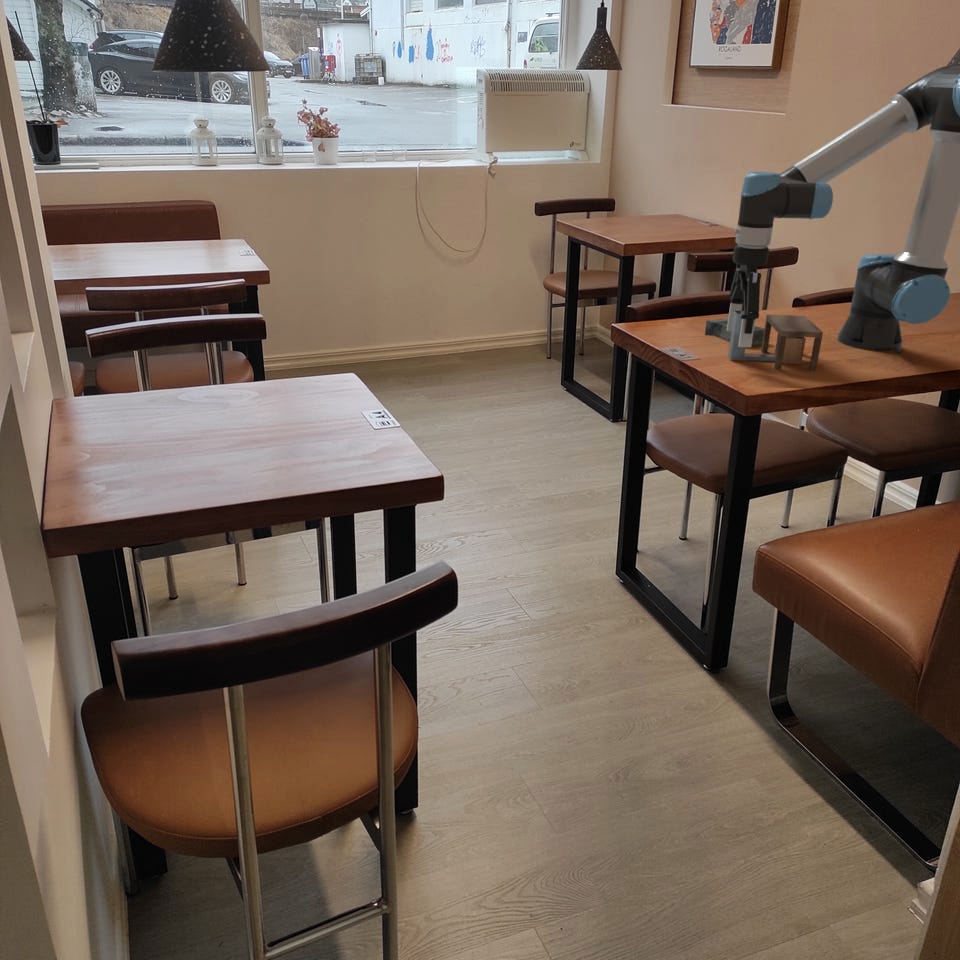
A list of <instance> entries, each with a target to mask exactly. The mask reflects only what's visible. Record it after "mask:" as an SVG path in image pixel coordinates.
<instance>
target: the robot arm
mask: <svg viewBox="0 0 960 960" xmlns="http://www.w3.org/2000/svg"><path fill="white" fill-rule="evenodd" d="M929 125H930V127H929V133H930V135H931V136H932V138H933V143H932V144H933V145H932V148H931V151H930V155H929V157H928V163H927V165H926V169H925V172H924V175H923V180H922V183H921V186H920V190H919V194H918V197H917V200H916V204H915V207H914V211H913V215H912V218H911V221H910V226H909V229H908V232H907V234H906V235H907V236H906V238H905V242H904V243H905V244H904V246H903V250H902V251H901V252H900V253H897V254H893V253H889V254H888V253H867V254H865V255H863V256H862V257H861V258H860V260H859V264H858V267H857V273H856V278H855V282H854V283H855V284H854V289H853V293H852V299H851V304H850V311H849V314H848V316H847V318H846V320H845V321H844V323H843V324H842V327H841V329H840V331H839V332H838V335H837V339H836V340H837V341H838V342H839V343H840V344H842V345H845V346H848V347H851V348H855V349H860V350H866V351H876V352H877V351H878V352H879V351H880V352H882V351H883V352H889V351H893V352H895V354H900V352H901V350H902V347H903V336H902V329H901V322H903V323H904V322H906V323H908V324H913V325H919V324H925V323H927V322H930V321H932V320H933V319H934V318H937V317H938V316H939V315H940V314H941V313H943V311H944V310H945V308H946V307H947V305H948V303H949V300H950V298H951V297H950V296H951V289H950V286H949V285H948V282H947V280H946V275H947V272H948V270H949V264H948V263H947V261H946V259H945V257H944V256H945V254H946V250H947V247H948V244H949V240H950V238H951V234H952V230H953V227H954V223H955V221H956V217H957V213H958V211H959V208H960V65H959V64H949V65H945V66H942V67H938V68H936V69H934V70H932V71H930V72H928V73H926V74H924V75H923V76H921V77H919V78H918V79H915V81H913V82H911V83H910V84H908V85H907V86H905V87H904V88H902V89H901V90H900V91H898V92H897V93H895V94H893V95H892V96H891V98H890V101H889V103H888V104H886V105H884V106H883V107H882V108H880V109H878V110H877V111H875V112H873V113H872V114H871V115H869V116H867V117H866V118H865V119H863V120H861V121H860V122H858V123H857V124H855V125H854V126H852V127H850V128H849V129H848V130H846V131H844V132H843V133H842V134H840V135H838V136H836V138H834V139H832V140H831V141H829V142H828V143H826V144H825V145H822V146H821V147H819V148H818V149H817V150H815V151H813V152H812V153H811V154H809V155H808V156H806V157H805V158H803V159H801V160H800V161H798V162H796V163H795V164H793V165H792V166H790V167H789V168H787V169H785V170H784V171H782V172H781V173H777V172H772V171H760V170H759V171H750V172H748V173H746V174H745V176H744V180H743V184H742V189H741V192H740V193H741V194H740V203H739V212H738V221H737V226H736V227H737V228H736V229H734V230H733V233H734V235H735V244H736V245H734V248H733V254H732V255H733V256H732V261H733V263H734V264H736V266H735V272H734V276H733V278H732V279H733V280H732V283H731V288H730V292H729V295H728V298H729V301H730V303H729V305H730V306H729V312H728V317H727V319H728V324H727V331H732V324H733V317H734V310H735V311H744V315H742V316H741V319H742V324H741V331H740V338H739V345H738V346H739V347H745V348H752V346H753V345H752V338H753V332H754V326H756V325H755V324H756V319H759V317H760V294H761V293H760V292H761V279H762V273H761V272H758V267H760V266H765V265H767V263H768V261H769V260H768V259H769V253H770V249H769V247H768V246H770V245H771V242H772V237H773V229H774V228H773V226H774V221H775V219H806V220H813V219H823V218H825V217H827V215H828V214H829V213H830V211H831V210H832V206H833V202H834V201H833V200H834V192H833V189H832V186H831V185H830V184H828V183H829V182H831V180H833V179H835V178H837V177H838V176H840V175H842V174H843V173H844V172H845V171H848V170H849V169H850V168H852V167H853V166H855V165H857V164H858V163H860V162H862V161H863V160H865V159H867V158H868V157H869V156H871V155H872V154H874V153H876V152H878V151H879V150H880V149H882V148H883V147H885V146H887V145H888V144H890V143H892V142H893V141H895V140H896V139H898V138H900V137H901V136H902V135H904V134H906V133H908V134H914V133H916V132H917V131H919V130H920V129H922V128H925V127H926V126H929Z"/></svg>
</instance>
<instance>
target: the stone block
mask: <svg viewBox="0 0 960 960" xmlns="http://www.w3.org/2000/svg"><path fill="white" fill-rule="evenodd" d="M727 324H728V318H718V319H709V320H706V323H705V331H704V336H711V337H712V336H714V337H716V338H719V339H722V340H724V341H727V342H729V343H730V339H731V331H727ZM764 329H765V327H760V326H757V325H754V332H753V338H752V345H751V346H755V345H762V341H763V335H764Z"/></svg>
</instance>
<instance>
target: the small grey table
mask: <svg viewBox="0 0 960 960" xmlns="http://www.w3.org/2000/svg"><path fill="white" fill-rule="evenodd" d="M772 328H773V329H774V330H775V331H776V332H777V334H778V333H779V334H780V336H779V343H778V349H777V355H776V361H775V362H774V370H780V371H781V370H782V366H783V363H782V361H783V355H784V349H785V343H786V337H787V336H791V337H804V338H814V340H813V345H812V352H811V357H810V360H809V361H810V362H809V368H808V370H809V371H810V372H817V367H818V362H819V356H820V351H821V345H822V339H823V334H824V332H823V331H822V330H821V328H819V327H818V326H817V325H816V324H815V323H813V322H812V321H811V319H809V318H808V317H807V316H806V315H793V314H792V315H790V314H789V315H788V314H787V315H786V314H766V317H765V324H764V335H763V341H762V344H761V349H760V352H761V354H768V350H769V343H770V337H771V330H772Z"/></svg>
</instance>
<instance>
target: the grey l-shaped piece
mask: <svg viewBox="0 0 960 960" xmlns="http://www.w3.org/2000/svg"><path fill="white" fill-rule="evenodd" d="M742 315H744V310H742V311H735V310H734V317H733V324H732V331H731V339H730V342H729V348H728V355H727V357H728V359H729V360H730V361H740V362H741V361H742V362H743V361H746V362H747V361H749V362H751V361H752V362H772V363H773V362H774V363H775V361H776V355H777V349H778V343H779V336H780V334H779V333H778V332H777V338H776V344H775V350H774V354H768V353H745V352H746V347H739V346H738V345H739V338H740V331H741V324H742V319H741V316H742ZM806 339H807V338H806V337H791V336H787V337H786V343H785V349H784V355H783V361H782V365H783V364H786V365H788V364H789V365H790V364H791V365H802V363H803V357H804V350H805V345H806Z"/></svg>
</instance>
